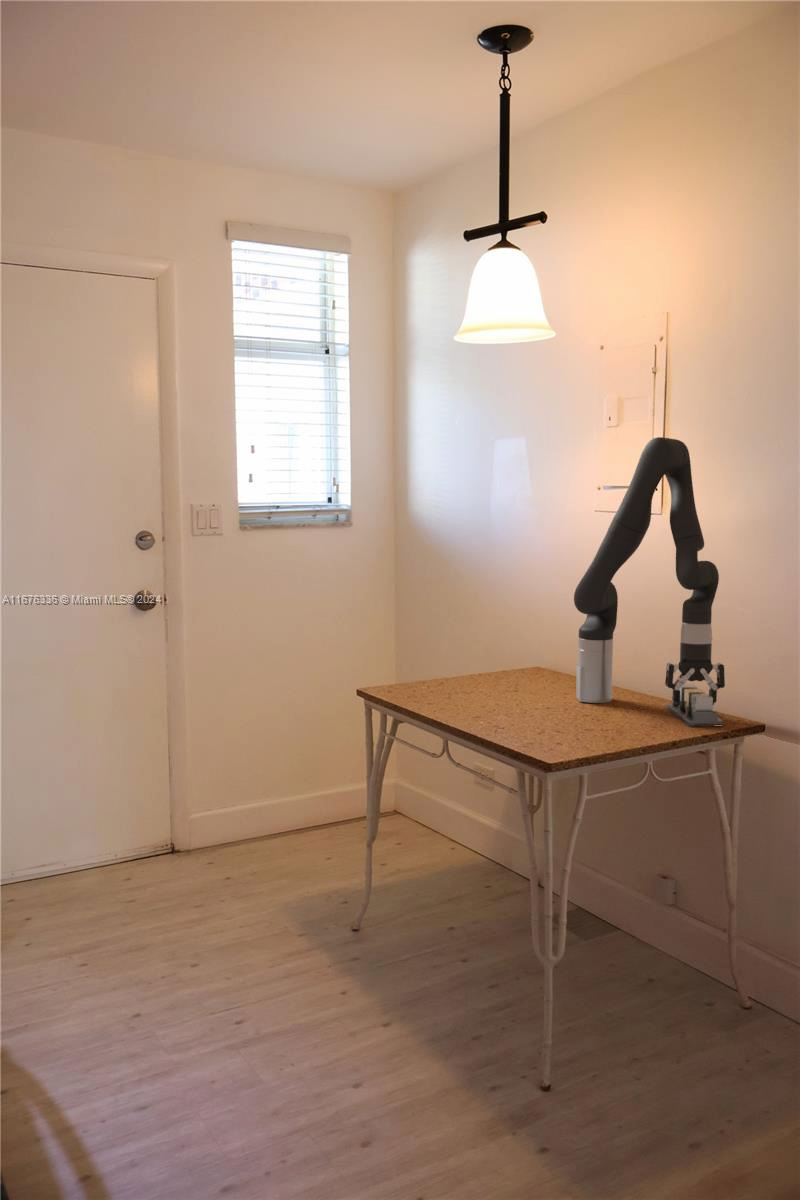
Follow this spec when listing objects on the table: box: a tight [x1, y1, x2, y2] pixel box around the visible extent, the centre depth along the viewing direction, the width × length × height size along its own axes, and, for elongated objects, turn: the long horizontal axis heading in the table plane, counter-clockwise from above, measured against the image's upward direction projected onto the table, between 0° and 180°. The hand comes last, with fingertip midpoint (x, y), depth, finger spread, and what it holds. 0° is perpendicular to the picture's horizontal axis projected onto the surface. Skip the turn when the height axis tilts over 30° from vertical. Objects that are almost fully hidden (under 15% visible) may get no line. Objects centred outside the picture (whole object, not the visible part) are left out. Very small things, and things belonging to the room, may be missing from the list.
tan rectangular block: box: [684, 688, 706, 714], centre depth 249 cm, size 4×4×6 cm
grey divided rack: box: [666, 683, 724, 728], centre depth 249 cm, size 8×21×7 cm, turn 179°
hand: (694, 704), depth 249 cm, fingers open, 8 cm apart
